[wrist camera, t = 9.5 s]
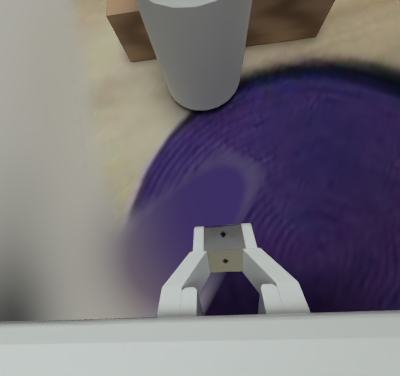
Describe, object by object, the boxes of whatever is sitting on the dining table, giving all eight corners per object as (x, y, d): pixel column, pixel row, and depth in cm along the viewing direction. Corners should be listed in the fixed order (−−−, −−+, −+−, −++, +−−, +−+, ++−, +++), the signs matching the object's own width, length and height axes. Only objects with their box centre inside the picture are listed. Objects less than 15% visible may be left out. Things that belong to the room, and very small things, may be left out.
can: (155, 96, 21) (76, -64, 9) (191, 42, 22) (161, -169, 10) (216, 127, 20) (214, -12, 8) (252, 69, 21) (298, -137, 9)
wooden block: (309, 5, 21) (336, -60, 16) (315, 36, 21) (346, -22, 16) (130, 32, 23) (106, -21, 18) (131, 61, 22) (106, 15, 17)
